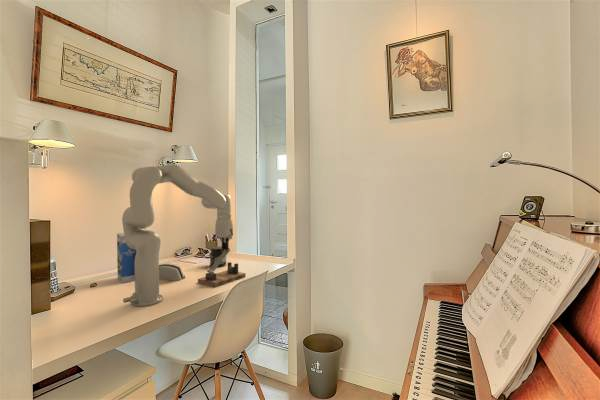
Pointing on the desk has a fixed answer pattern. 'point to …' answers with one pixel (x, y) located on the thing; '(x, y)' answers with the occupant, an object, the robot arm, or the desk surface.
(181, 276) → the grey curved block
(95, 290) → the desk surface
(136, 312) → the desk surface
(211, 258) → the supplement container
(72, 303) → the desk surface
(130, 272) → the string lights box
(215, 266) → the strap
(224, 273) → the strap board
